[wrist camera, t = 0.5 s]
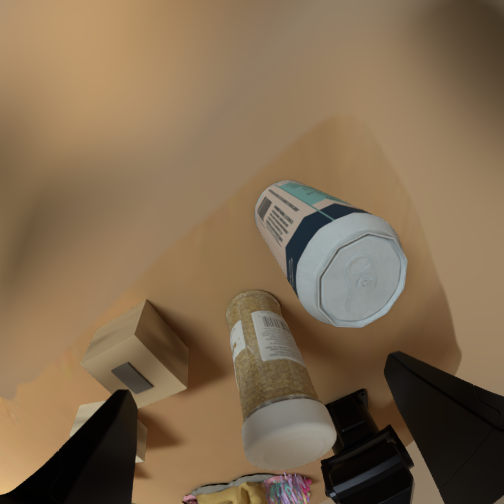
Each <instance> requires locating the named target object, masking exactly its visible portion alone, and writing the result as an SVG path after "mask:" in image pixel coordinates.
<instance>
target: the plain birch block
mask: <svg viewBox="0 0 504 504" xmlns="http://www.w3.org/2000/svg"><path fill="white" fill-rule="evenodd" d="M104 402H105V401H101V402H95V403H90V404H84V405H80V407H79V410H78V413H77V415H76V418H75V421H74V424H73V427H72V430H71V433H70V437H72V436H73V435H74V434H75V432H76V431H77V430H78V429H79V428H80V427H81V426H82V425H83V424H84V423H85V422H86V421H87V420H88V419H89V418H90V417H91V416H92V415H93V414H94V413H95V412H96V411H97V410H98V409H99V408H100V407H101V406H102V405H103V403H104ZM147 434H148V428H147V427H146V426H145V425H144V424H143V423H142V422H141V421H140V420H139V419H137V453H136V461H135V463H137V462H144V461H145V452H146V443H147Z"/></svg>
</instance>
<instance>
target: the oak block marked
mask: <svg viewBox="0 0 504 504" xmlns="http://www.w3.org/2000/svg"><path fill="white" fill-rule="evenodd" d="M80 365H81V366H82V367H83V368H84V369H85V370H86V371H88V372H89V373H90V374H91V375H92V376H93V377H94V378H95V379H96V380H97V381H98V382H99V383H100V384H101V385H102V386H103V387H105V388H106V389H107V390H108V391H109V392H110V393H111V394H113V393H114V392H115V391H116V390H117V389H128V390H130V392H131V394H132V396H133V398H134V400H135V402H136V404H137V408H141V407H144V406H146V405H149V404H151V403H154V402H156V401H159V400H161V399H164V398H166V397H169V396H171V395H173V394H176V393H178V392H181V391H183V390H185V389H188V366H189V348H188V347H187V346H186V345H185V344H184V343H183V342H182V341H181V340H180V338H179V337H178V336H177V335H176V334H175V333H174V332H173V330H172V329H171V328H170V327H169V326H168V325H167V323H166V322H165V321H164V320H163V319H162V318H161V316H160V315H159V314H158V313H157V312H156V310H155V309H154V308H153V307H152V306H151V304H150V303H149V302H148V301H147V299H146V300H144V301H143V302H141V303H139V304H138V305H136V306H134V307H133V308H131V309H129V310H128V311H126V312H125V313H123V314H121V315H120V316H118V317H116V318H115V319H113V320H111V321H110V322H108V323H107V324H105V325H103V326H102V327H100V328H99V329H97V331H96V333H95V335H94V337H93V339H92V341H91V343H90V345H89V347H88V349H87V351H86V353H85V355H84V357H83V360H82V362H81V364H80Z"/></svg>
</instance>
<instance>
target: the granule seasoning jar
mask: <svg viewBox="0 0 504 504" xmlns="http://www.w3.org/2000/svg"><path fill="white" fill-rule="evenodd" d="M226 320H227V324H228V326H229V330H230V343H231V350H232V356H233V362H234V369H235V375H236V382H237V386H238V389H239V394H240V401H241V407H242V413H243V427H242V439H243V445H244V450H245V455H246V458H247V460H248V461H249V462H250V463H251V464H252V465H254V466H256V467H258V468H261V469H266V470H286V469H292V468H296V467H300V466H303V465H306V464H308V463H311V462H313V461H315V460H316V459H318V458H320V457H321V456H323V455H324V454H325V453H327V452H328V451H329V450H330V449H331V448H332V446H333V445H334V443H335V441H336V437H337V433H336V430H335V427H334V424H333V422H332V419H331V417H330V415H329V412H328V410H327V408H326V407H325V406H324V405H323V403H322V402H321V401H320V400H319V398H318V396H317V393H316V391H315V389H314V386H313V385H312V381H311V379H310V377H309V372H308V370H307V367H306V365H305V363H304V361H303V358H302V356H301V354H300V351H299V349H298V347H297V345H296V342H295V340H294V338H293V336H292V334H291V331H290V329H289V327H288V325H287V323H286V321H285V320H284V318H283V316H282V314H281V307H280V305H279V303H278V301H277V300H276V299H275V298H274V296H272V295H270V294H269V293H267V292H264V291H261V290H251V291H247V292H243V293H241V294H239V295H237V296H236V297H235V298H234V299H233V300H232V301H231V303H230V304H229V306H228V308H227V312H226Z"/></svg>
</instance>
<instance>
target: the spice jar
mask: <svg viewBox="0 0 504 504" xmlns="http://www.w3.org/2000/svg"><path fill="white" fill-rule="evenodd" d="M255 221H256V225H257V228H258V229H259V231H260V233H261V235H262V236H263V238H264V240H265V241H266V243H267V245H268V246H269V248H270V250H271V252H272V253H273V255H274V257H275V258H276V260H277V262H278V264H279V265H280V267H281V269H282V271H283V272H284V274H285V276H286V277H287V279H288V281H289V283H290V284H291V286H292V288H293V290H294V291H295V293H296V295H297V297H298V298H299V300H300V302H301V303H302V305H303V307H304V308H305V310H306V311H307V312H308V313H309V314H310V315H311V316H313V317H314V318H316V319H317V320H319V321H321V322H324V323H327V324H332V325H334V326H335V327H355V328H362V327H364V326H366V325H367V324H369V323H371V322H373V321H375V320H376V319H378V318H380V317H382V316H383V315H385V314H387V313H388V311H389V310H390V308H391V307H392V305H393V304H394V303H395V301H396V300H397V298H398V297H399V295H400V294H401V292H402V291H403V289H404V285H405V278H406V269H407V259H406V257H405V255H404V252H403V248H402V246H401V243H400V240H399V237H398V235H397V233H396V232H395V230H394V229H393V228H392V227H391V225H390V224H388V223H387V222H386V221H385V220H383V219H382V218H380V217H377V216H375V215H372V214H370V213H368V212H366V211H364V210H362V209H360V208H357V207H355V206H353V205H351V204H349V203H346V202H344V201H342V200H340V199H337V198H335V197H333V196H331V195H328V194H326V193H324V192H321V191H319V190H317V189H314V188H312V187H309V186H307V185H305V184H303V183H300V182H297V181H293V180H284V181H280V182H277V183H275V184H273V185H271V186H269V187H268V188H267V189H266V190H265V191H264V192H263V193H262V194H261V196H260V197H259V199H258V201H257V204H256V207H255Z"/></svg>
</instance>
